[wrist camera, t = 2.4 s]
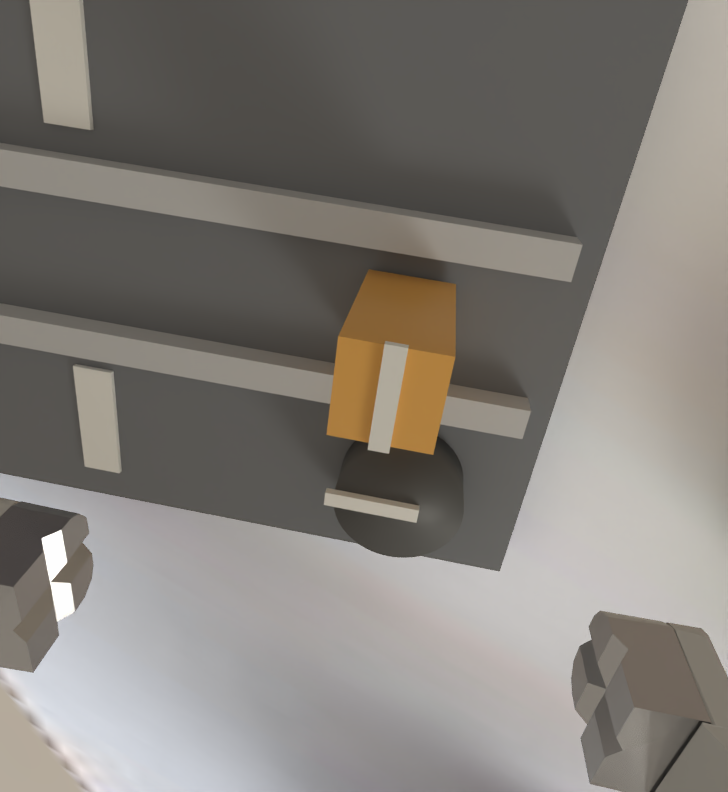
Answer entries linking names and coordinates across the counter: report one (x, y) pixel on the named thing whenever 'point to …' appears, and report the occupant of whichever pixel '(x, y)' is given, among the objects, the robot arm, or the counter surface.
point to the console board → (304, 242)
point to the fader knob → (394, 363)
